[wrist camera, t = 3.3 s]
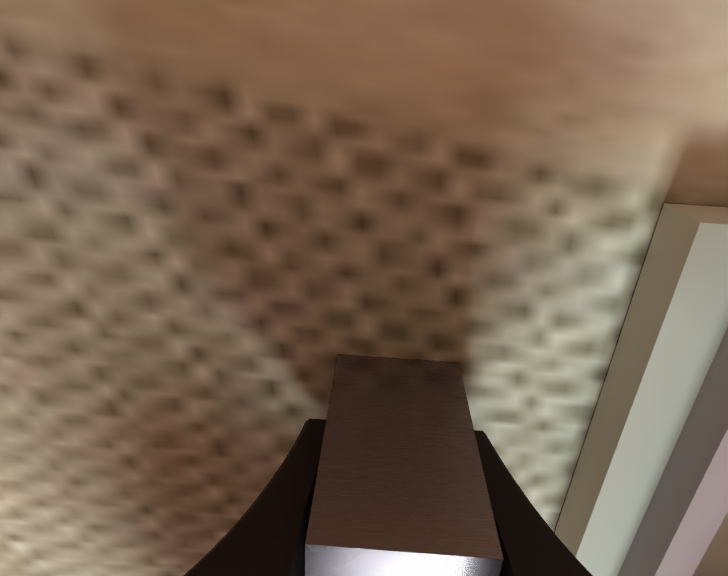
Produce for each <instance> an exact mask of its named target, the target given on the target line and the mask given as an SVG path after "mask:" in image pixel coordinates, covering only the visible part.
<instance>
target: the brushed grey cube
mask: <svg viewBox="0 0 728 576" xmlns="http://www.w3.org/2000/svg"><path fill="white" fill-rule="evenodd" d="M502 563H503V556H502V551H501V547H500V542H499V538H498V534H497V529H496V525H495V520H494V516H493V512H492V507H491V503H490V499H489V494H488V490H487V485H486V481H485V477H484V472H483V468H482V463H481V459H480V455H479V450H478V446H477V441H476V437H475V433H474V428H473V424H472V420H471V415H470V411H469V406H468V402H467V398H466V393H465V389H464V384H463V380H462V376H461V371H460V367H459V363H453V362H438V361H424V360H409V359H395V358H380V357H366V356H351V355H338V356H337V361H336V367H335V373H334V379H333V385H332V390H331V396H330V402H329V408H328V414H327V420H326V425H325V431H324V437H323V443H322V449H321V455H320V460H319V466H318V472H317V478H316V484H315V489H314V495H313V501H312V507H311V513H310V519H309V524H308V530H307V536H306V542H305V576H499V574H500V570H501V566H502Z"/></svg>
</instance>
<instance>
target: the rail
mask: <svg viewBox="0 0 728 576" xmlns="http://www.w3.org/2000/svg"><path fill="white" fill-rule="evenodd" d="M554 533H555V534H556V536H557V537H558V538H559V539H560V540H561V542H562V543H563V544H564V545H565V546H566V547H567V548H568V550H569V551H570V552H571V553H572V554H573V555H574V556H575V557H576V558H577V560H578V561H579V562H580V563H581V564H582V565H583V566H584V567H585V568H586V569H587V570H588V571H589V572H590V573H591V574H592V575H593V576H728V207H717V206H701V205H685V204H668V203H664V204H663V207H662V210H661V214H660V217H659V220H658V223H657V226H656V229H655V232H654V235H653V238H652V241H651V244H650V247H649V250H648V253H647V256H646V259H645V262H644V265H643V268H642V271H641V274H640V277H639V280H638V283H637V286H636V289H635V292H634V295H633V298H632V301H631V304H630V307H629V310H628V313H627V316H626V319H625V322H624V325H623V328H622V331H621V334H620V337H619V340H618V343H617V346H616V349H615V352H614V355H613V358H612V361H611V364H610V367H609V370H608V373H607V376H606V379H605V382H604V385H603V388H602V391H601V394H600V397H599V400H598V403H597V406H596V409H595V412H594V415H593V418H592V421H591V424H590V427H589V430H588V433H587V436H586V439H585V442H584V445H583V448H582V451H581V454H580V457H579V460H578V463H577V466H576V469H575V472H574V475H573V478H572V481H571V484H570V487H569V490H568V493H567V496H566V499H565V502H564V505H563V508H562V511H561V514H560V517H559V520H558V523H557V526H556V529H555V532H554Z"/></svg>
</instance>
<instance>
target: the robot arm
mask: <svg viewBox="0 0 728 576" xmlns="http://www.w3.org/2000/svg"><path fill="white" fill-rule="evenodd" d="M325 425H326V420H322V419H309V420H307V421H306V422H305V424H304V426H303V429H302V431H301V433H300V435H299V436H298V438H297V440H296V442H295V444H294V445H293V447H292V449H291V450H290V452H289V454H288V455H287V457H286V458H285V460H284V461H283V463H282V464H281V466H280V467H279V469H278V470H277V472H276V473H275V475H274V476H273V478H272V479H271V481H270V482H269V483H268V485H267V486H266V487H265V489H264V490H263V491H262V493H261V494H260V495H259V496H258V498H257V499H256V500H255V502H254V503H253V504H252V505H251V507H250V508H249V509H248V510H247V512H246V513H245V514H244V515H243V516H242V517H241V519H240V520H239V521H238V522H237V523H236V524H235V525H234V526H233V528H232V529H231V530H230V531H229V532H228V533H227V534H226V535H225V536H224V537H223V538H222V539H221V540H220V541H219V542H218V543H217V544H216V545H215V547H214V548H213V549H212V550H211V551H210V552H209V553H208V554H207V555H206V556H205V557H203V558H202V559H201V560H200V561H199V562H198V563H197V564H196V565H195V566H194V567H193V568H192V569H190V570H189V571H188V572H187V573H186V574H185V575H184V576H305V542H306V536H307V530H308V524H309V519H310V513H311V507H312V501H313V495H314V489H315V484H316V478H317V472H318V466H319V460H320V455H321V449H322V443H323V437H324V431H325ZM474 433H475V437H476V441H477V446H478V450H479V455H480V459H481V463H482V468H483V472H484V477H485V481H486V485H487V490H488V494H489V499H490V503H491V507H492V512H493V516H494V520H495V525H496V529H497V534H498V538H499V542H500V547H501V551H502V556H503V563H502V566H501V570H500V574H499V576H593V575H592V574H591V573H590V572H589V571H588V570H587V569H586V568H585V567H584V566H583V565H582V564H581V563H580V562H579V561H578V560H577V558H576V557H575V556H574V555H573V554H572V553H571V552H570V551H569V550H568V548H567V547H566V546H565V545H564V544H563V543H562V542H561V540H560V539H559V538H558V537H557V536H556V534H555V533H554V532H553V531H552V530H551V528H550V527H549V526H548V525H547V523H546V522H545V521H544V520H543V518H542V517H541V516H540V514H539V513H538V512H537V511H536V509H535V508H534V507H533V505H532V504H531V503H530V501H529V500H528V499H527V497H526V496H525V494H524V493H523V491H522V490H521V489H520V487H519V486H518V484H517V483H516V481H515V480H514V479H513V477H512V476H511V474H510V473H509V471H508V470H507V468H506V466H505V465H504V463H503V462H502V460H501V459H500V457H499V455H498V454H497V452H496V451H495V449H494V447H493V446H492V444H491V442H490V441H489V439H488V437H487V436H486V434H485V433H484V432H483V431H476V430H474Z"/></svg>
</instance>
